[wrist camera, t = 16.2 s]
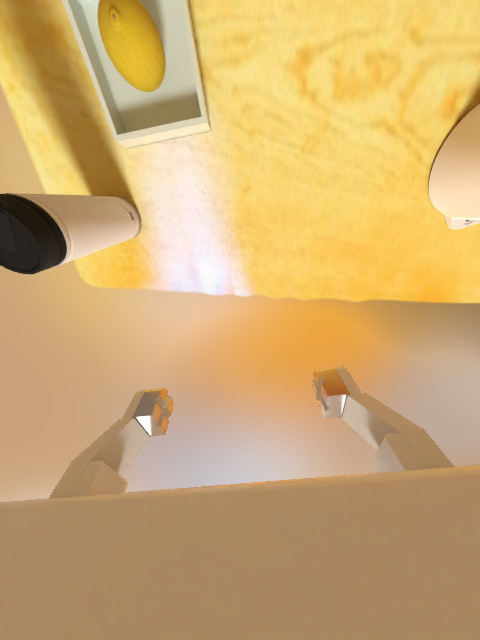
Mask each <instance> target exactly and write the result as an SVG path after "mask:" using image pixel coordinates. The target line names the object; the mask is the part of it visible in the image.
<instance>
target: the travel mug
mask: <svg viewBox="0 0 480 640" xmlns="http://www.w3.org/2000/svg"><path fill="white" fill-rule="evenodd" d="M140 230H141V219H140V216H139V213H138V212H137V210H136V209H135V207H134V206H133V205H132V204H131V203H130V202H129V201H127V200H125V199H124V198H121V197H116V196H84V195H48V194H12V193H6V194H0V266H1V265H2V266H3V267H5V268H7V269H9V270H12V271H14V272H18V273H23V274H35V273H38V272H40V271H43V270H46V269H49V268H51V267H56V266H59V265H61V264H64V263H67V262H69V261H72V260H75V259H78V258H80V257H83V256H86V255H89V254H91V253H94V252H97V251H99V250H102V249H105V248H107V247H110V246H113V245H116V244H118V243H121V242H124V241H126V240H129V239H132V238H134V237H136V236H137V235H138V234H139V232H140Z"/></svg>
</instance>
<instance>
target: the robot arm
mask: <svg viewBox="0 0 480 640" xmlns="http://www.w3.org/2000/svg"><path fill="white" fill-rule="evenodd" d="M429 196H430V200H431V202H432V204H433V206H434V207H435V208H436V209H437V210H438V211H439V212H441V213H442V214H443V215H444V216H445V218H446V222H447V226H448V227H449V228H450V229H461V228H465V227H468V226H471V225H474V224H477V223H480V103H479V104H478V105H477V106H476V107H475V108H473V109H472V110H471V111H470V112H469V113H468V114H467V115H466V116H465V117H464V118H463V119H462V120H461V121H460V122H459V123H458V125H457V126H456V127H455V128H454V129H453V131H452V132H451V133H450V135H449V136H448V138H447V139H446V141H445V142H444V144H443V146H442V147H441V149H440V151H439V153H438V155H437V157H436V159H435V162H434V164H433V167H432V171H431V174H430V180H429ZM313 376H314V378H315V379H314V380H313V384H312V385H313V391H314V394H315V397H316V399H318V400H319V401H320V405H319V407H320V409H321V411H322V414H323V416H324V418H325V419H327V418H339V417H340V418H341V417H342V419H343V420H344V421H345V422H346V423H348V424H349V425H350V426H351V427H352V428H353V429H354V430H355V431H356V432H357V433H358V434H359V435H361V436H362V437H363V438H364V439H365V440H366V441H367V442H368V443H369V444H370V445H371V446H373V447H374V448H375V449H376V450H377V453H376V456H375V457H374V459H373V461H372V465H373V467H374V469H375V471H376V473H368V474H356V475H342V476H330V477H317V478H304V479H292V480H279V481H266V482H253V483H242V484H241V483H240V484H228V485H216V486H203V487H189V488H178V489H164V490H151V491H139V492H126V493H124V492H125V490H126V487H127V484H128V483H127V480H126V479H124V478H123V477H122V476H120V475H121V474H122V473H123V472H124V470H125V469H126V468H127V466H128V465H129V464H130V463H131V461H132V460H133V459H134V458H135V456H136V455H137V454H138V452H139V451H140V450H141V449H142V447H143V446H144V444H145V443H146V442H147V441H148V440H149V438H150V436H157V435H165V434H166V431H167V427H168V424H169V420H168V417H169V416H170V415H171V414H172V411H173V400H172V398H171V396H168V395H167V394H168V391H167V389H166V388H161V389H149V390H139V391H137V392H136V393H135V395H134V397H133V399H132V401H131V403H130V405H129V407H128V408H127V410H126V412H125V414H124V416H123V418H122V419H119V420H118V421H117V422H116V423H115V424H114V425H112V426H111V427H110V428H109V429H108V430H107V431H106V432H105V433H104V434H102V435H101V436H100V437H99V438H98V439H97V440H96V441H94V442H93V443H92V444H91V445H90V446H89V447H88V448H87V449H86V450H85V451H83V452H82V453H81V454H80V455H79V456H78V457H77V458H75V459H74V460H73V461H72V462H71V464H70V465H69V467H68V469H67V470H66V472H65V473H64V475H63V477H62V478H61V480H60V481H59V483H58V484H57V486H56V487H55V489H54V491H53V492H52V494H51V495H50V497H49V498H48V499H37V500H25V501H13V502H0V640H480V465H470V466H458V467H454V466H453V465H452V463H451V462H450V461H449V459H448V458H447V457H446V456H445V455H444V454H443V452H442V451H441V450H440V448H439V447H438V446H437V445H436V444H435V442H434V441H433V440H432V439H431V437H430V436H429V435H428V434H427V433H426V431H425V430H424V429H422V428H421V427H419V426H417V425H416V424H414V423H412V422H411V421H409V420H408V419H406V418H405V417H403V416H402V415H400V414H398V413H397V412H395V411H394V410H392V409H390V408H389V407H387V406H386V405H384V404H382V403H381V402H379V401H378V400H376V399H374V398H373V397H371V396H370V395H368V394H366V393H362V392H361V390H360V389H359V387H358V386H357V384H356V383H355V381H354V380H353V378H352V377H351V375H350V374H349V372H348V371H347V369H346V368H345V367H335V368H327V369H318V370H314V372H313Z"/></svg>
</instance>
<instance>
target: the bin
mask: <svg viewBox="0 0 480 640" xmlns="http://www.w3.org/2000/svg"><path fill="white" fill-rule="evenodd" d="M99 1H100V0H62V3H63V6H64V8H65V11H66V13H67V16H68V19H69V21H70V24H71V27H72V29H73V32H74V35H75V37H76V40H77V43H78V45H79V48H80V50H81V53H82V56H83V58H84V61H85V64H86V66H87V69H88V72H89V74H90V77H91V79H92V82H93V85H94V87H95V90H96V93H97V95H98V98H99V101H100V103H101V106H102V109H103V111H104V114H105V116H106V119H107V122H108V124H109V127H110V130H111V132H112V135H113V138H114V140H115V142H116V143H118V144H120V145H122V146H124V147H126V148H133V147H137V146H142V145H147V144H152V143H156V142H161V141H166V140H171V139H175V138H180V137H185V136H190V135H194V134H199V133H204V132H209V131H211V129H210V123H209V118H208V112H207V106H206V100H205V94H204V88H203V83H202V77H201V71H200V65H199V59H198V54H197V48H196V42H195V36H194V30H193V24H192V19H191V13H190V7H189V1H188V0H139V1H140V3H141V4H142V5H143V6H144V7H145V8H146V10H147V11H148V13H149V14H150V16H151V18H152V19H153V21H154V23H155V25H156V27H157V29H158V32H159V35H160V37H161V40H162V43H163V48H164V53H165V63H166V68H165V76H164V79H163V82H162V83H161V85H160V86H159V88H157V89H156V90H155V91H152V92H143V91H140V90H138V89H136V88H134V87H133V86H132V85H130V84H129V83H128V82H127V81H126V80H125V79H124V78H123V77H122V76H121V75H120V73H119V72H118V71H117V70H116V68H115V66H114V65H113V63H112V61H111V59H110V58H109V56H108V54H107V52H106V49H105V47H104V44H103V42H102V39H101V35H100V31H99V27H98V16H97V14H98V4H99Z"/></svg>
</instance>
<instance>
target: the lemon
mask: <svg viewBox="0 0 480 640" xmlns="http://www.w3.org/2000/svg"><path fill="white" fill-rule="evenodd" d="M97 16H98V27H99V31H100V35H101V39H102V42H103V44H104V47H105V49H106V52H107V54H108V56H109V58H110V59H111V61H112V63H113V65H114V66H115V68H116V70H117V71H118V72H119V73H120V75H121V76H122V77H123V78H124V79H125V80H126V81H127V82H128V83H129V84H130V85H132V86H133V87H134V88H136V89H138V90H140V91H143V92H152V91H155V90H156V89H157V88H159V86H160V85H161V83H162V82H163V79H164V76H165V68H166V63H165V53H164V48H163V43H162V40H161V37H160V35H159V32H158V29H157V27H156V25H155V23H154V21H153V19H152V18H151V16H150V14H149V13H148V11H147V10H146V8H145V7H144V6H143V5H142V4H141V3H140V1H139V0H100V1H99V4H98V14H97Z"/></svg>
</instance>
